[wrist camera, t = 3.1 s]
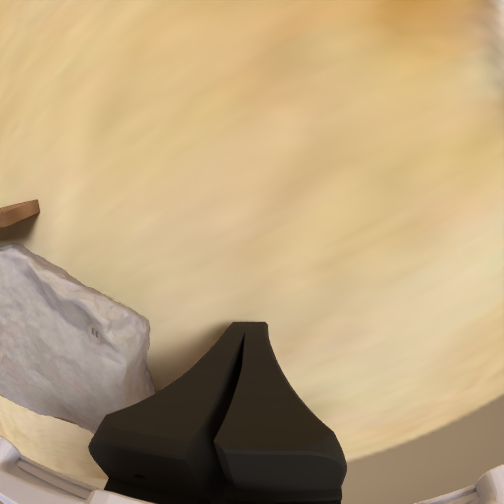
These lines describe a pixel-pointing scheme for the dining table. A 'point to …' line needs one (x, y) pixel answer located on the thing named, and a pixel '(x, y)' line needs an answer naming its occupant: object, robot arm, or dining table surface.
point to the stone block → (67, 343)
